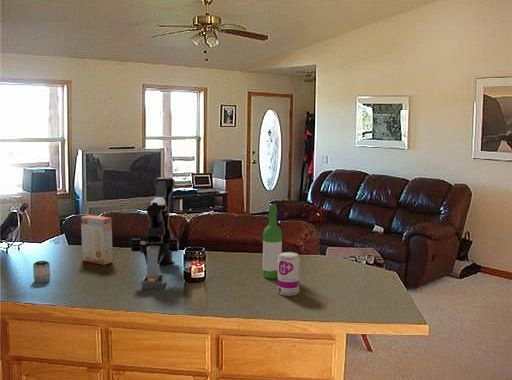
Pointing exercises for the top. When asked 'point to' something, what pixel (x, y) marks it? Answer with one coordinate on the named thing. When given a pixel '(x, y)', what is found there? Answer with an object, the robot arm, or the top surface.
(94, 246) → the cracker box
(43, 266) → the camera lens
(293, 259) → the supplement can
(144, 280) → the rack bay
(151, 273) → the grey rectangular prism
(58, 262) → the top surface
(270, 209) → the wine bottle
